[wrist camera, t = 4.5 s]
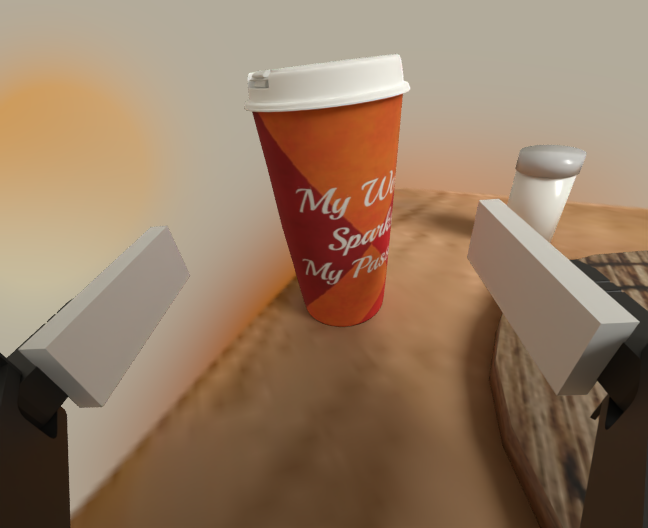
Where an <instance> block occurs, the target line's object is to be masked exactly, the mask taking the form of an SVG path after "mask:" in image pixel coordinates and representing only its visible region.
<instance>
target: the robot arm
mask: <svg viewBox="0 0 648 528" xmlns="http://www.w3.org/2000/svg"><path fill="white" fill-rule="evenodd" d="M467 258H468V260H469V261H470V263H471V265H472V266H473V268H474V269H475V271H476V272H477V274H478V275H479V277H480V278H481V280H482V281H483V283H484V285H485V286H486V288H487V289H488V291H489V292H490V294H491V295H492V297H493V298H494V300H495V301H496V303H497V304H498V306H499V308H500V309H501V311H502V312H503V314H504V315H505V317H506V318H507V320H508V321H509V323H510V324H511V326H512V328H513V329H514V331H515V332H516V334H517V335H518V337H519V338H520V340H521V341H522V343H523V344H524V346H525V348H526V349H527V351H528V352H529V354H530V355H531V357H532V358H533V360H534V361H535V363H536V364H537V366H538V368H539V369H540V371H541V372H542V374H543V375H544V377H545V378H546V380H547V381H548V383H549V384H550V386H551V388H552V389H553V391H554V392H555V394H556V395H557V396H560V395H588V393H589V392H590V390H591V389H592V388H593V386H594V385H595V383H596V382H597V381H598V382H599V383H600V385H601V386H602V387H603V388H604V390H605V391H606V392H607V393H608V394H607V395H606V396H605V398H604V399H603V400H602V402H601V403H600V404H599V405H598V407H597V408H596V409H595V410H594V412H593V413H592V415H591V416H590V418H592V419H594V420H596V419H597V417H598V416H599V415H600V417H599V422H598V428H597V433H596V439H595V445H594V450H593V456H592V461H591V467H590V473H589V478H588V484H587V489H586V495H585V501H584V506H583V512H582V517H581V523H580V528H648V311H647V310H646V309H645V308H644V307H642V306H641V305H640V304H639V303H637V302H636V301H635V300H634V299H632V298H631V297H630V296H629V295H628V294H626V293H625V292H622V291H621V289H620V288H619V287H618V286H617V285H615V284H614V283H613V282H610V280H609V279H608V278H607V277H606V276H604V275H603V274H602V273H601V272H599V271H598V270H597V269H596V268H594V267H592V266H590V265H587V264H585V263H583V262H581V261H579V260H577V259H576V260H568V259H567V258H566V257H565V256H564V255H563V254H561V253H560V252H559V251H558V250H557V249H556V248H555V247H553V246H552V245H551V244H550V243H549V242H548V241H547V240H545V239H544V238H543V237H542V236H541V235H540V234H539V233H537V232H536V231H535V230H534V229H533V228H532V227H531V226H529V225H528V224H527V223H526V222H525V221H524V220H523V219H521V218H520V217H519V216H518V215H517V214H516V213H515V212H513V211H512V210H511V209H510V208H509V207H508V206H507V205H505V204H504V203H503V202H502V201H501V200H500V199H491V200H479V203H478V207H477V212H476V217H475V222H474V227H473V231H472V236H471V241H470V246H469V251H468V255H467ZM189 277H190V274H189V272H188V270H187V268H186V266H185V263H184V261H183V259H182V257H181V255H180V252H179V250H178V248H177V246H176V244H175V242H174V239H173V237H172V235H171V233H170V231H169V228H168V226H159V227H151V228H149V229H148V230H147V231H146V232H145V233H144V234H143V235H142V236H141V237H140V238H139V239H137V240H136V241H135V242H134V243H133V244H132V245H131V246H130V247H129V248H128V249H127V250H126V251H125V252H123V254H121V255H120V256H119V257H118V258H117V259H116V260H115V261H114V262H113V263H111V265H109V266H108V267H107V268H106V269H105V270H104V271H103V272H102V273H101V274H100V275H98V276H97V278H95V279H94V280H93V281H92V282H91V283H90V284H89V285H88V286H86V287H85V288H84V289H83V290H82V291H81V292H80V293H79V294H78V295H77V296H76V297H75V298H73V299H72V300H70V301H69V302H67V303H66V304H65V305H64V306H63V307H62V308H61V309H60V310H59V311H58V312H57V314H54V315H53V316H52V317H51V318H50V319H49V320H48V321H47V323H46V324H43V325H42V326H41V327H40V328H39V329H38V330H37V331H36V332H35V333H34V334H33V335H31V336H30V337H29V338H28V339H27V340H26V341H25V342H24V343H23V344H22V345H21V346H20V347H18V348H17V349H16V350H15V351H14V352H13V353H12V354H11V355H10V356H8V357H7V358H6V357H4V356H3V355H2V354H1V353H0V528H70V498H69V466H68V434H67V414H66V411H65V409H63V408H62V407H61V405H62V404H63V402H64V401H65V400H66V399H67V397H69V398H70V399H71V400H72V401H73V402H74V403H75V404H77V405H78V406H79V407H80V408H82V407H103V406H104V404H105V403H106V401H107V400H108V398H109V397H110V395H111V394H112V392H113V391H114V389H115V388H116V386H117V385H118V383H119V382H120V380H121V379H122V377H123V376H124V374H125V373H126V371H127V369H128V368H129V367H130V365H131V364H132V362H133V361H134V359H135V358H136V356H137V355H138V353H139V352H140V350H141V349H142V347H143V346H144V344H145V343H146V341H147V340H148V338H149V337H150V335H151V334H152V332H153V331H154V329H155V328H156V326H157V325H158V323H159V322H160V320H161V319H162V317H163V316H164V314H165V313H166V311H167V310H168V308H169V307H170V305H171V304H172V302H173V301H174V299H175V298H176V296H177V295H178V293H179V292H180V290H181V289H182V287H183V286H184V284H185V283H186V281H187V280H188V278H189Z"/></svg>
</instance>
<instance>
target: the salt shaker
mask: <svg viewBox="0 0 648 528" xmlns="http://www.w3.org/2000/svg"><path fill="white" fill-rule="evenodd" d="M585 157H586V152H585V151H583V150H581V149H578V148H574V147H568V146H560V145H536V146H530V147H525V148H523V149H521V150H520V153H519V157H518V160H517V165H516V174H515V178H514V181H513V185H512V189H511V193H510V196H509V200H508V204H507V206H508V207H509V208H510V209H511V210H512V211H513V212H515V213H516V214H517V215H518V216H519V217H520V218H521V219H523V220H524V221H525V222H526V223H527V224H528V225H529V226H531V227H532V228H533V229H534V230H535V231H536V232H537V233H539V234H540V235H541V236H542V237H543V238H544V239H545V240H547V241H548V242H549V243H550V242H551V240H552V237H553V235H554V232H555V229H556V227H557V224H558V222H559V219H560V217H561V214H562V211H563V209H564V206H565V204H566V201H567V198H568V196H569V193H570V191H571V188H572V185H573V183H574V180H575V178H576V175H578V174H579V172H580V170H581V167H582V165H583V162H584V159H585Z"/></svg>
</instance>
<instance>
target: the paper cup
mask: <svg viewBox="0 0 648 528" xmlns="http://www.w3.org/2000/svg"><path fill="white" fill-rule="evenodd" d="M248 90H249V100H247V101H246V102H245V106H244V109H245V110H247V111H252V113H253V116H254V120H255V124H256V127H257V131H258V135H259V138H260V142H261V146H262V150H263V153H264V157H265V160H266V164H267V167H268V172H269V176H270V180H271V184H272V188H273V192H274V196H275V200H276V204H277V208H278V212H279V216H280V219H281V224H282V228H283V231H284V234H285V238H286V241H287V244H288V247H289V251H290V254H291V258H292V261H293V264H294V268H295V272H296V275H297V279H298V282H299V286H300V289H301V293H302V296H303V299H304V302H305V305H306V308H307V310H308V312H309V313H310V315H311V316H312V317H313V318H315V319H316V320H318V321H319V322H321V323H324V324H327V325H331V326H338V327H345V326H353V325H357V324H360V323H363V322H365V321H367V320H369V319H370V318H372V317H373V316H374V315H375V314H376V313H377V312H378V311H379V309H380V307H381V305H382V302H383V296H384V288H385V280H386V270H387V260H388V250H389V239H390V229H391V218H392V207H393V196H394V184H395V173H396V163H397V152H398V141H399V130H400V118H401V108H402V96H403V93H405V92H407V91H409V90H410V86H409V83H408V82H407V81H404V80H403V69H402V61H401V57H400V56H399V54H392V55H383V56H374V57H367V58H358V59H349V60H341V61H333V62H326V63H319V64H311V65H303V66H296V67H289V68H280V69H273V70H264V71H257V72H252V73H249V75H248Z"/></svg>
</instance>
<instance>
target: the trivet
mask: <svg viewBox="0 0 648 528" xmlns="http://www.w3.org/2000/svg"><path fill="white" fill-rule="evenodd" d="M577 260H579V261H581V262H583V263H585V264H587V265H590V266H592V267H594V268H596V269H597V270H598V271H599V272H601V273H602V274H603V275H604V276H606V277H607V278H608V279H609V280H610V282H613V283H614V284H615V285H617V286H618V287H619V288H620V289H621V291H622V292H625V293H626V294H628V295H629V296H630V297H631V298H632V299H634V300H635V301H636V302H637V303H639V304H640V305H641V306H642V307H644V308H645V309H646V310H647V311H648V251H635V252H623V253H611V254H599V255H592V256H588V257H585V258H581V259H577ZM489 380H490V385H491V390H492V395H493V400H494V405H495V410H496V415H497V420H498V425H499V430H500V434H501V439H502V444H503V447H504V450H505V452H506V454H507V456H508V458H509V460H510V463H511V465H512V467H513V469H514V471H515V473H516V476H517V478H518V480H519V482H520V484H521V486H522V489H523V491H524V493H525V495H526V497H527V499H528V502H529V504H530V506H531V508H532V510H533V512H534V515H535V517H536V519H537V521H538V523H539V525H540V528H580V523H581V517H582V512H583V506H584V501H585V495H586V489H587V484H588V478H589V473H590V467H591V461H592V456H593V450H594V445H595V439H596V433H597V428H598V422H599V417H600V415H599V416H598V417H597V419H596V420H594V419H592V418H590V416H591V415H592V413H593V412H594V410H595V409H596V408H597V407H598V405H599V404H600V403H601V402H602V400H603V399H604V398H605V396H606V395H607V394H608V393H607V392H606V391H605V390H604V388H603V387H602V386H601V385H600V383H599V382H598V381H597V382H596V383H595V385H594V386H593V388H592V389H591V390H590V392H589V393H588V395H560V396H557V395H556V394H555V392H554V391H553V389H552V388H551V386H550V384H549V383H548V381H547V380H546V378H545V377H544V375H543V374H542V372H541V371H540V369H539V368H538V366H537V364H536V363H535V361H534V360H533V358H532V357H531V355H530V354H529V352H528V351H527V349H526V348H525V346H524V344H523V343H522V341H521V340H520V338H519V337H518V335H517V334H516V332H515V331H514V329H513V328H512V326H511V324H510V323H509V321H508V320H507V318H506V317H505V315H504V314H502V316H501V319H500V322H499V325H498V328H497V331H496V335H495V342H494V349H493V356H492V362H491V369H490V376H489Z"/></svg>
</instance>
